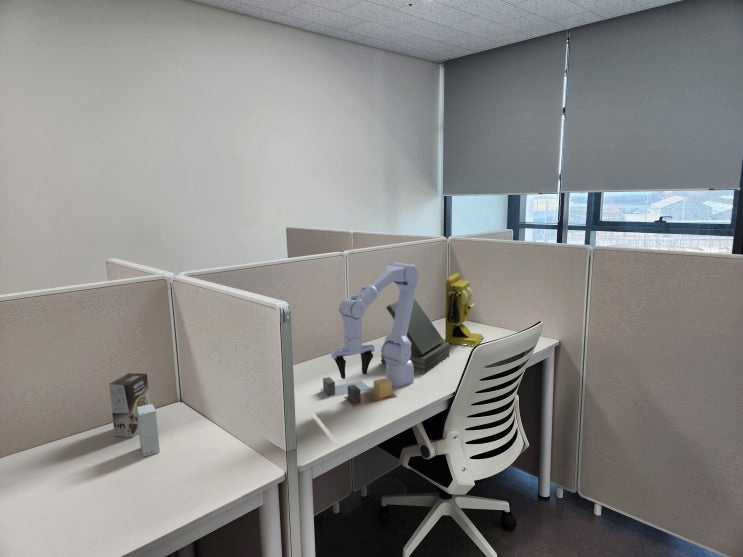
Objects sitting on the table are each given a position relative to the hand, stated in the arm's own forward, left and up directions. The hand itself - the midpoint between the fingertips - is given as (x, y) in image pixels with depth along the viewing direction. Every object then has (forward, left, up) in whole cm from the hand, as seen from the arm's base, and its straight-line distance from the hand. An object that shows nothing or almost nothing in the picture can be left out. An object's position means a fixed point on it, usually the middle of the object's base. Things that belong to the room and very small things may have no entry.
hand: (353, 375), depth 160 cm
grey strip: (0, -9, -9) cm, 13 cm away
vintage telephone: (-71, -37, -10) cm, 81 cm away
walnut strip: (-5, +1, -9) cm, 11 cm away
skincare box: (+62, +2, -10) cm, 63 cm away
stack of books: (-38, -25, -10) cm, 47 cm away
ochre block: (-10, +1, -8) cm, 13 cm away
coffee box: (+66, -13, -10) cm, 68 cm away
